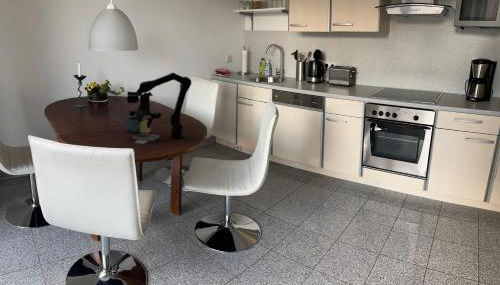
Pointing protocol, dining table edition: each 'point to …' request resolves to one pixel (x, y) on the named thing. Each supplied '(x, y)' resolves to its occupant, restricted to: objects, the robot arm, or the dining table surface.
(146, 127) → the brown wooden block
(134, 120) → the flower pot
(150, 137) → the grey flat frame
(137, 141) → the pad
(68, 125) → the dining table surface
